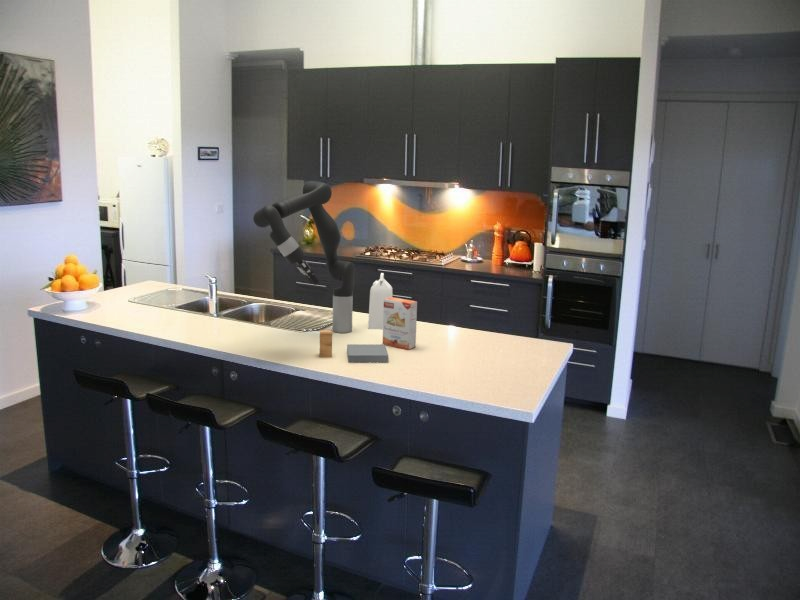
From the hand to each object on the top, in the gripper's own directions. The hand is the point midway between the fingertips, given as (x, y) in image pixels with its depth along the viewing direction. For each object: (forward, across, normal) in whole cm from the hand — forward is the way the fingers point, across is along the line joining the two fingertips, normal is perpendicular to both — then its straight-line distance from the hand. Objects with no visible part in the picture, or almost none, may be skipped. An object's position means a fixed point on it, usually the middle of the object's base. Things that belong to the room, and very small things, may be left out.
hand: (315, 282), depth 272 cm
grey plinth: (+37, -4, +1) cm, 37 cm away
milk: (+45, +44, -17) cm, 65 cm away
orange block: (+27, +1, +14) cm, 31 cm away
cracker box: (+47, +9, -14) cm, 49 cm away
